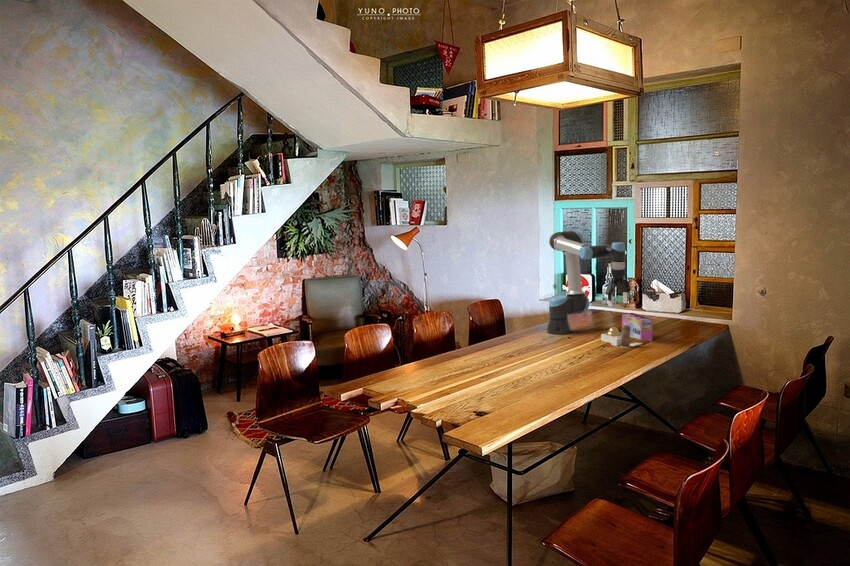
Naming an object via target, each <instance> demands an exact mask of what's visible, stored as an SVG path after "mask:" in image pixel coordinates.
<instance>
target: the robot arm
mask: <svg viewBox="0 0 850 566" xmlns="http://www.w3.org/2000/svg"><path fill="white" fill-rule="evenodd" d="M548 241H549V242H548V243H549V246H550V247H551V248H552V249H553V250H555V251H559V252H560V251H562V254H564V256H565V265H566V266H565V267H566V275H567V288H568V290H567V291H568V292H567V293H566V295H565V294H559V295H555V296H554V295H553V296H552V297H550V298H549V300H548V301H549V302H548V308H549V309H548V310H549V311H548V312H549V314H548V316H549V319H548V320H549V321H548V323H547V327H546V333H548V334H551V335H567V334H571V331H572V328H571V327H570V323H569V320H568V319H569V318H568V317H569V316H572V315H581V314H584V313H586V312H587V311H588V310H589V307H590V299H589V297H588V296H587V295H586V294H585V293H586V292H585V291H584V290H583V287H582V276H581V275H582V274H581V264H580V263H581V262H580V259H582V260H592V259H604V258H605V259H606V258H610V259H611V276H612V277H609V279H608V283H607V286H606V290H605V295H606V296H607V304H608V305H607V307H613V305H614V295H613V294H614V292H615V290H616V288H617V286H619V285H620V286H621V289H622V290H623V292H622V303H623V304H628V301H629V300H628V297H629V293H630V291H631V287H630V283H629V281H628V280H629V279H628V275H626V269H625V268H626V244H625V242H622V241H621V242H619V241H618V242H616V241H615V242H612V243H611V244H605V243H603V244H599V245H589V244H585V239H584V235H582V233H581V232H580V231H579V230H569V231H557V232H555V233H553V234H552V235H551V236H550V237H549V240H548Z"/></svg>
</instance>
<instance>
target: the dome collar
mask: <svg viewBox="0 0 850 566" xmlns="http://www.w3.org/2000/svg"><path fill="white" fill-rule="evenodd" d="M615 337H617V338H621V343H622V333H620V336H615ZM615 337H613V336H608V335H607V333H602V334H600V341H601V342H604V343H605V342H606V343H610V344H611V338H615Z"/></svg>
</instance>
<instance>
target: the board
mask: <svg viewBox="0 0 850 566" xmlns="http://www.w3.org/2000/svg"><path fill="white" fill-rule="evenodd" d="M639 345H643V343H642V342H637V341H636V342H631V343H630V347H635V346H639ZM620 347H621V348H623V347H622V345H620ZM630 347H629V348H630ZM624 348H625V349H627V348H628V347H624Z"/></svg>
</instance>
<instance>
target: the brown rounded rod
mask: <svg viewBox="0 0 850 566" xmlns="http://www.w3.org/2000/svg"><path fill="white" fill-rule="evenodd" d="M621 334H622V342H621V346H622V347H621V348H625V347H627V348H630V344H631V343H630V341H631V339H630V338H631V337H630V328H629V326H627V325H624V326H623V327H622V326H621Z"/></svg>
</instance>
